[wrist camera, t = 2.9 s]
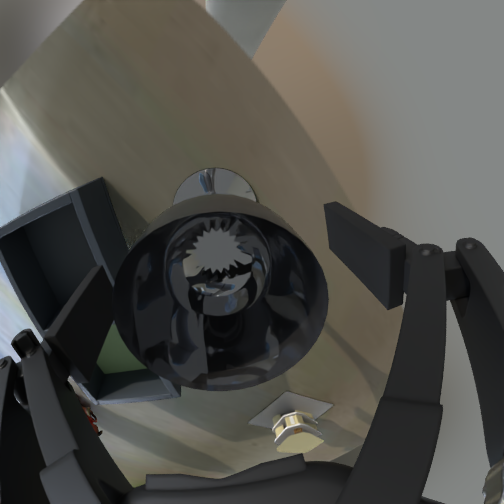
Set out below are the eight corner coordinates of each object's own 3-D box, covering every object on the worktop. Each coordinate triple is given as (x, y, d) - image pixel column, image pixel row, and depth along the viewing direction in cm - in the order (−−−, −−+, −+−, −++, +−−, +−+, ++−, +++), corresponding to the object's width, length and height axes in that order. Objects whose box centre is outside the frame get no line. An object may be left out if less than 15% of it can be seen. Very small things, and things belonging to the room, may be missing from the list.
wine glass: (196, 145, 21) (167, 161, 7) (279, 193, 24) (368, 278, 10) (152, 228, 23) (90, 348, 10) (231, 268, 26) (255, 407, 12)
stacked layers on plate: (333, 404, 37) (345, 431, 32) (295, 433, 39) (303, 459, 34) (286, 390, 34) (296, 423, 29) (247, 422, 36) (252, 452, 31)
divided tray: (103, 176, 21) (77, 188, 16) (183, 362, 30) (180, 397, 25) (18, 216, 20) (-11, 234, 16) (104, 374, 29) (94, 405, 25)
